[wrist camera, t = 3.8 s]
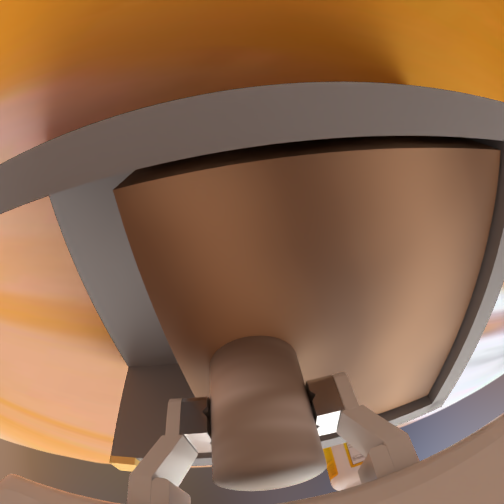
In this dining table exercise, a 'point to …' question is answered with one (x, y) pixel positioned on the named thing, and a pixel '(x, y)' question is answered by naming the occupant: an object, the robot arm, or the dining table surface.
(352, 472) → the supplement bottle
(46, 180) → the bay
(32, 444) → the dining table surface
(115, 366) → the dining table surface
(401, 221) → the wooden block with knob
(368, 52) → the dining table surface
